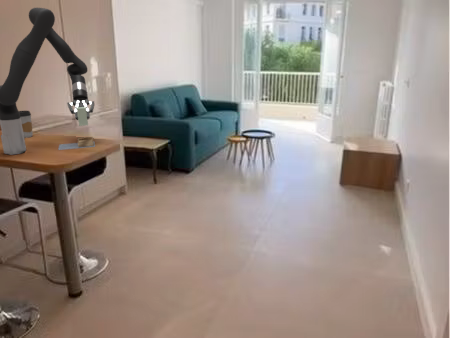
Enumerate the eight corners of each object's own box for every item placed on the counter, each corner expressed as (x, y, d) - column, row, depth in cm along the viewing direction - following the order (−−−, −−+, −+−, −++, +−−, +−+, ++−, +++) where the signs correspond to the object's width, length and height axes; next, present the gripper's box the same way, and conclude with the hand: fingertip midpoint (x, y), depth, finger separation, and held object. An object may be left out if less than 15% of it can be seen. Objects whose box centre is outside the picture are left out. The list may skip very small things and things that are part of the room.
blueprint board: (58, 151, 190) (58, 149, 189) (59, 145, 200) (59, 144, 200) (95, 148, 195) (95, 146, 195) (94, 142, 206) (94, 141, 206)
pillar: (79, 125, 193) (76, 108, 190) (79, 124, 197) (76, 107, 194) (88, 125, 194) (85, 108, 192) (88, 123, 198) (85, 106, 196)
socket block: (78, 147, 194) (77, 141, 193) (78, 143, 201) (77, 138, 200) (93, 145, 197) (93, 139, 196) (93, 142, 204) (92, 136, 203)
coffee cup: (29, 134, 227) (25, 110, 222) (37, 136, 223) (33, 111, 218) (16, 137, 220) (11, 112, 215) (24, 138, 216) (19, 113, 211)
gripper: (64, 88, 194) (67, 115, 187) (93, 87, 199) (96, 113, 192) (66, 97, 201) (68, 124, 194) (94, 96, 205) (97, 122, 198)
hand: (82, 118), depth 193 cm, fingers closed on pillar, 4 cm apart
